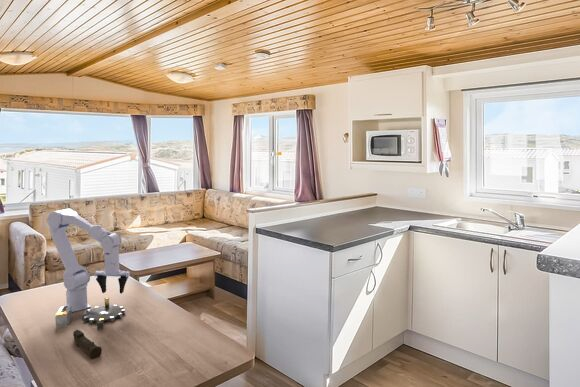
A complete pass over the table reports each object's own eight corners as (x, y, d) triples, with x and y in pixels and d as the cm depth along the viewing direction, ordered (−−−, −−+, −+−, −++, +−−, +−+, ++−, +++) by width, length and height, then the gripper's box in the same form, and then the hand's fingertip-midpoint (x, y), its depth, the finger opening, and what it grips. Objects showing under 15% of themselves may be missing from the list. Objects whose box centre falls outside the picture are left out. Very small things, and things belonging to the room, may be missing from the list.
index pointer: (98, 326, 162) (97, 320, 162) (103, 325, 163) (103, 319, 163) (97, 329, 159) (96, 323, 159) (102, 328, 160) (102, 322, 160)
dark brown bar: (102, 356, 140) (102, 343, 139) (90, 360, 137) (89, 347, 136) (82, 338, 153) (82, 326, 152) (71, 341, 150) (70, 329, 150)
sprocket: (73, 321, 166) (72, 308, 165) (100, 306, 182) (99, 294, 181) (108, 325, 162) (108, 312, 162) (132, 309, 178) (132, 298, 178)
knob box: (61, 318, 170) (60, 305, 169) (72, 317, 171) (71, 304, 170) (55, 328, 160) (55, 315, 160) (67, 327, 161) (66, 314, 161)
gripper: (90, 264, 171) (91, 295, 172) (124, 264, 171) (125, 296, 172) (98, 259, 178) (99, 289, 179) (131, 260, 178) (132, 290, 179)
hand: (113, 292), depth 176 cm, fingers open, 7 cm apart
